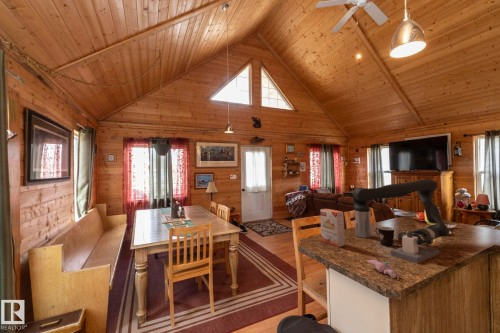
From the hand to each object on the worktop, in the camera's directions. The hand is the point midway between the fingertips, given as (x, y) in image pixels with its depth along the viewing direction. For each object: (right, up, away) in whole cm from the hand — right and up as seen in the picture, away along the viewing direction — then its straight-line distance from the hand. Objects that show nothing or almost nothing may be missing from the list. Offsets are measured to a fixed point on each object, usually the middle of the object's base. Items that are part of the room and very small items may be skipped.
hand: (408, 240), depth 114 cm
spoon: (+59, -8, +44) cm, 74 cm away
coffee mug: (+1, -9, +21) cm, 23 cm away
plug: (+2, -8, +1) cm, 9 cm away
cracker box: (-30, -11, +25) cm, 40 cm away
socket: (+5, -8, +3) cm, 10 cm away
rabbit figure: (-22, -9, -16) cm, 29 cm away
